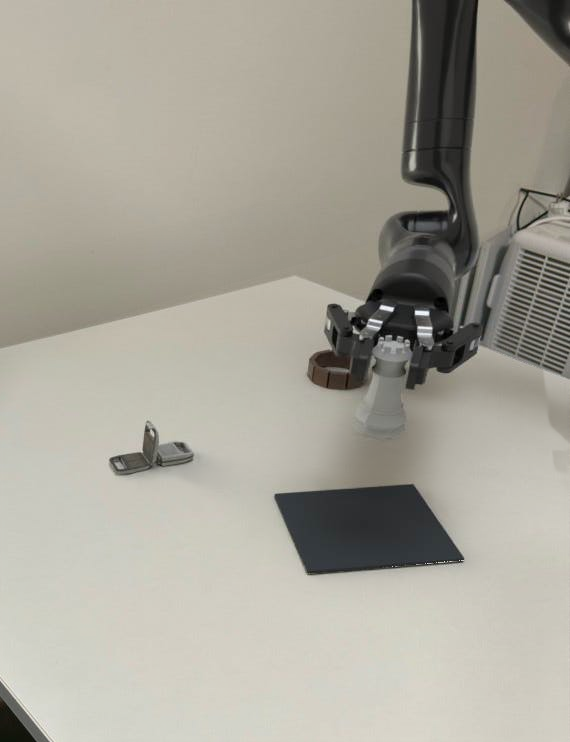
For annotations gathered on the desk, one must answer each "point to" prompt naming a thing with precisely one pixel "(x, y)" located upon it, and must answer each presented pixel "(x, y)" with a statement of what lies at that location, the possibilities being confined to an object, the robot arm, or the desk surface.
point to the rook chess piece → (385, 392)
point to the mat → (364, 528)
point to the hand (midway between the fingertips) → (386, 374)
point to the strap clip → (153, 453)
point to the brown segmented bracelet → (331, 377)
